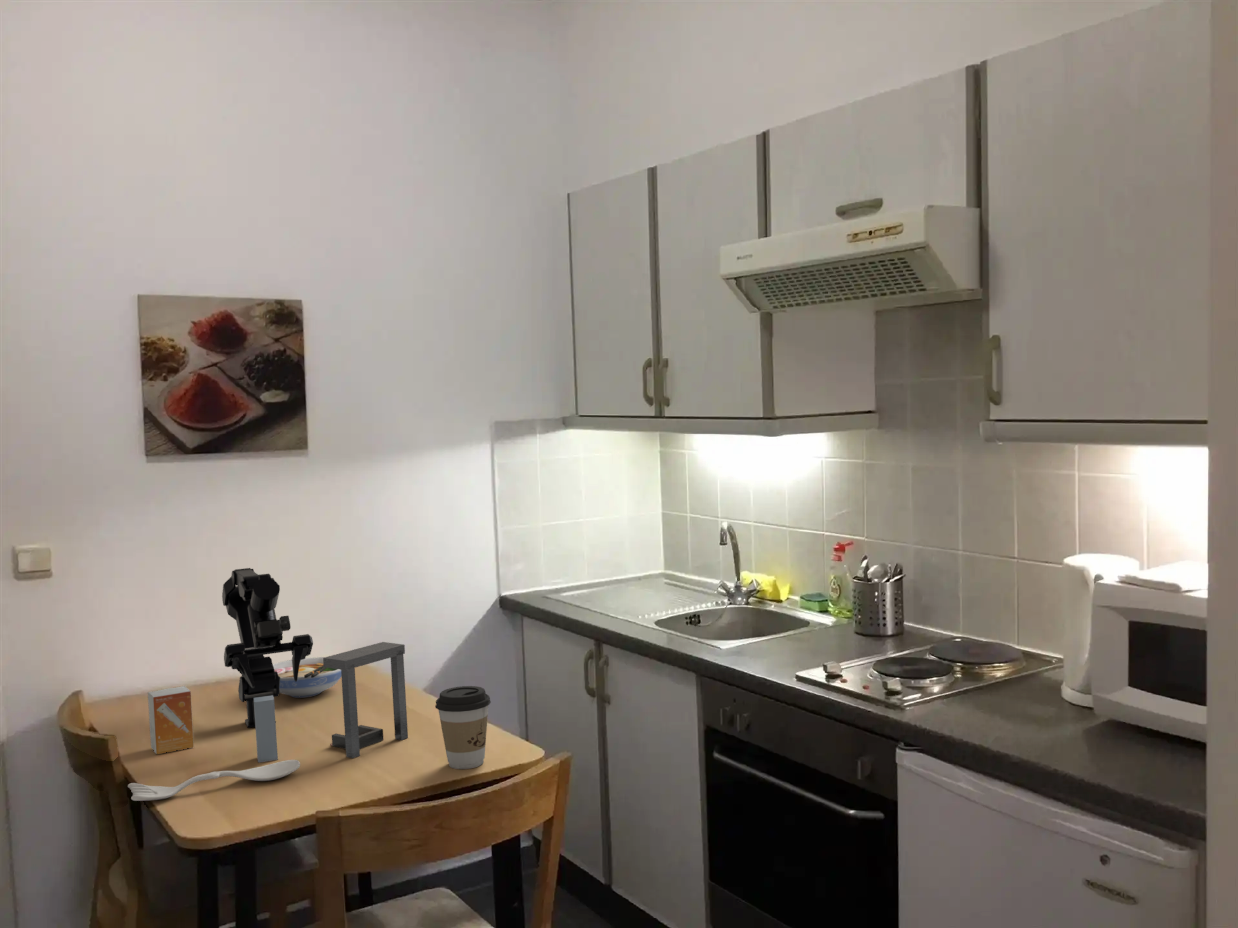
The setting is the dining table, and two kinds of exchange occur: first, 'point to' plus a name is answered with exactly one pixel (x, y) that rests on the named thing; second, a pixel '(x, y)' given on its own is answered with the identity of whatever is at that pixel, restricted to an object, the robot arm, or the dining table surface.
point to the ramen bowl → (306, 677)
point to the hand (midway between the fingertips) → (274, 683)
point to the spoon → (256, 774)
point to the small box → (170, 719)
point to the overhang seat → (356, 734)
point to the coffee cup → (464, 725)
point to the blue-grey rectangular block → (265, 728)
